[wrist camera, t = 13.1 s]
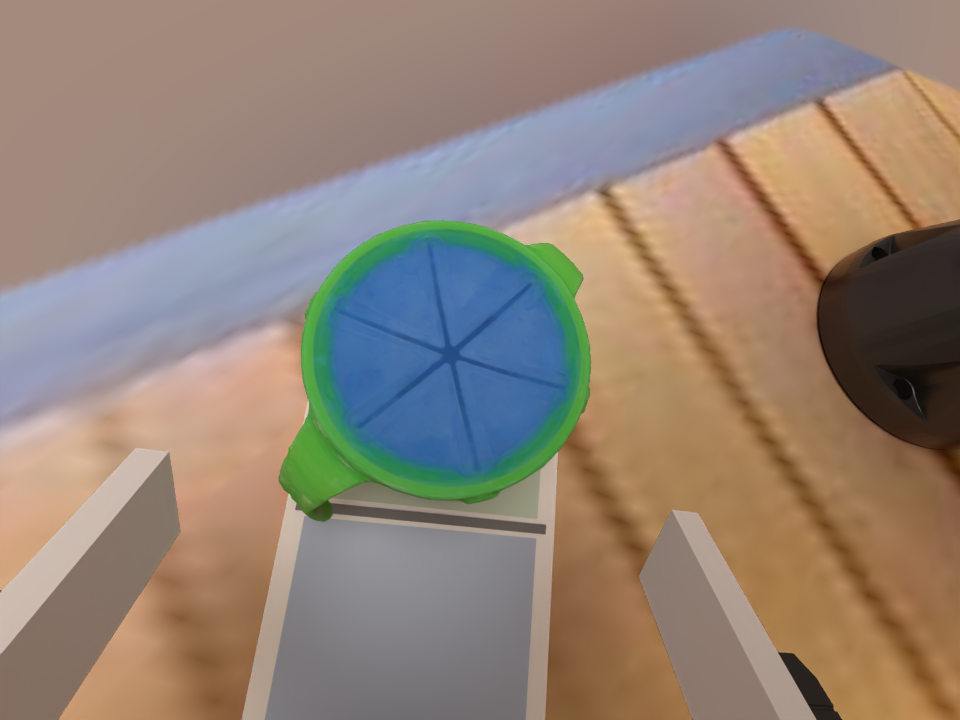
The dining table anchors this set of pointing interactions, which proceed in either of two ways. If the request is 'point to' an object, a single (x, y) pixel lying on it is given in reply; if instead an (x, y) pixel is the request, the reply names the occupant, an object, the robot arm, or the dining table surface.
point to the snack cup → (438, 367)
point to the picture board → (410, 608)
